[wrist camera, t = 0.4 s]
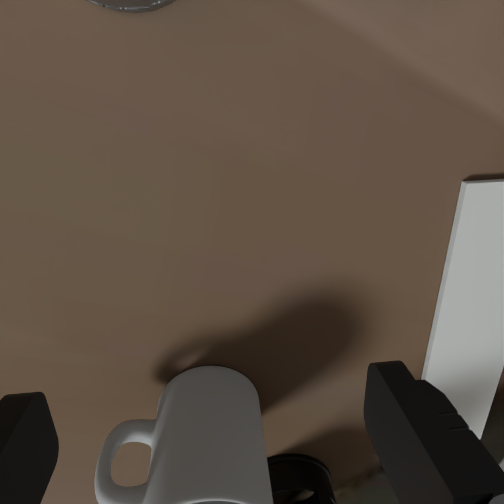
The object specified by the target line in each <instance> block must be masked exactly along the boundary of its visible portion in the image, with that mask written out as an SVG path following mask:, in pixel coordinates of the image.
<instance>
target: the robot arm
mask: <svg viewBox="0 0 504 504" xmlns="http://www.w3.org/2000/svg"><path fill="white" fill-rule="evenodd" d="M88 1H90V2H92V3H94V4H97V5H100V6H103V7H106V8H109V9H112V10H115V11H119V12H130V13H141V12H148V11H154V10H157V9H159V8H162V7H164V6H166V5H169V4H171V3H173V2H174V1H175V0H88ZM364 420H365V425H366V429H367V432H368V435H369V437H370V439H371V442H372V444H373V446H374V448H375V450H376V453H377V455H378V457H379V459H380V462H381V464H382V466H383V468H384V470H385V473H386V475H387V477H388V479H389V481H390V484H391V486H392V488H393V490H394V493H395V495H396V497H397V499H398V501H399V504H504V472H503V470H502V469H501V468H500V466H499V465H498V464H497V462H496V461H495V460H494V458H493V457H492V456H491V455H490V453H489V452H488V451H487V449H486V448H485V447H484V445H483V444H482V443H481V441H480V440H479V439H478V437H477V436H476V435H475V433H474V432H473V431H472V430H470V429H469V426H468V424H467V423H466V422H465V420H464V419H463V418H462V416H461V415H458V411H457V410H456V408H455V407H454V406H453V404H452V403H451V402H450V400H449V399H448V398H447V397H446V395H445V394H444V393H443V392H441V391H440V390H439V389H437V388H436V387H435V386H433V385H432V384H430V383H429V382H428V381H426V380H415V379H414V377H413V376H412V375H411V373H410V372H409V370H408V369H407V367H406V366H405V365H404V363H403V362H402V361H399V360H398V361H387V362H376V363H370V364H369V366H368V372H367V381H366V391H365V401H364ZM58 451H59V442H58V437H57V433H56V430H55V427H54V423H53V420H52V417H51V413H50V410H49V407H48V404H47V400H46V397H45V395H44V394H43V393H42V392H31V393H20V394H9V395H6V396H4V397H3V398H2V399H1V400H0V504H40V503H41V501H42V498H43V496H44V493H45V491H46V488H47V486H48V483H49V481H50V478H51V476H52V474H53V471H54V469H55V466H56V463H57V458H58Z"/></svg>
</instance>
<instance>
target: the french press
mask: <svg viewBox="0 0 504 504" xmlns="http://www.w3.org/2000/svg"><path fill="white" fill-rule="evenodd" d="M267 463H268V470H269V477H270V484H271V491H272V495H274V494H277V493H281V492H285V491H291V490H309V491H314V492H316V494H315V495H314V497H312V498H311V499H310V500H309V501H308V502H306V503H304V504H336V500H335V497H334V493H333V490H332V479H331V475H330V472H329V470H328V468H327V467H326V466H325V465H324V464H323V463H322V462H320V461H319V460H317V459H315V458H313V457H310V456H306V455H301V454H285V455H279V456H274V457H271V458H268V459H267Z"/></svg>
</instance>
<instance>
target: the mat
mask: <svg viewBox="0 0 504 504" xmlns="http://www.w3.org/2000/svg"><path fill="white" fill-rule="evenodd" d="M503 367H504V179H493V180H476V181H462V183H461V188H460V193H459V198H458V203H457V208H456V213H455V217H454V222H453V227H452V232H451V237H450V242H449V247H448V251H447V256H446V261H445V266H444V271H443V276H442V281H441V285H440V290H439V295H438V300H437V305H436V310H435V315H434V319H433V324H432V329H431V334H430V339H429V344H428V349H427V353H426V358H425V363H424V368H423V373H422V378H421V380H426V381H428V382H429V383H430V384H432V385H433V386H435V387H436V388H437V389H439V390H440V391H441V392H443V393H444V394H445V395H446V397H447V398H448V399H449V400H450V402H451V403H452V404H453V406H454V407H455V408H456V410H457V411H458V415H461V416H462V418H463V419H464V420H465V422H466V423H467V424H468V426H469V429H470V430H472V431H473V432H474V433H475V435H476V436H477V437H478V439H481V436H482V433H483V429H484V426H485V423H486V420H487V417H488V414H489V411H490V408H491V404H492V401H493V398H494V395H495V392H496V389H497V386H498V383H499V379H500V376H501V373H502V370H503Z"/></svg>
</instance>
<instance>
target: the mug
mask: <svg viewBox="0 0 504 504" xmlns="http://www.w3.org/2000/svg"><path fill="white" fill-rule="evenodd" d="M132 441H136V442H142V443H146V444H148V445H150V447H151V449H152V453H151V461H150V468H149V474H148V479H147V482H146V483H144V484H142V485H138V486H132V487H124V486H119V485H117V484H115V483H114V482H113V480H112V477H111V464H112V460H113V457H114V455H115V453H116V451H117V450H118V448H119V447H120V446H121V445H122V444H124V443H127V442H132ZM95 493H96V498H97V501H98V502H99V504H273V498H272V491H271V484H270V477H269V470H268V463H267V456H266V449H265V442H264V435H263V428H262V420H261V411H260V403H259V397H258V394H257V391H256V389H255V387H254V385H253V384H252V382H251V381H250V380H249V379H248V378H247V377H245V376H244V375H243V374H241V373H239V372H237V371H235V370H233V369H230V368H227V367H222V366H201V367H196V368H192V369H189V370H187V371H185V372H183V373H181V374H179V375H177V376H176V377H174V378H173V379H172V380H171V381H170V382H169V383H168V384H167V385H166V387H165V388H164V390H163V392H162V394H161V396H160V399H159V403H158V409H157V418H156V419H155V420H146V419H137V420H128V421H125V422H122V423H120V424H119V425H117V426H116V427H115V428H114V429H113V430H112V431H111V432H110V434H109V435H108V437H107V439H106V440H105V442H104V445H103V447H102V449H101V452H100V455H99V458H98V462H97V467H96V473H95Z"/></svg>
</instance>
